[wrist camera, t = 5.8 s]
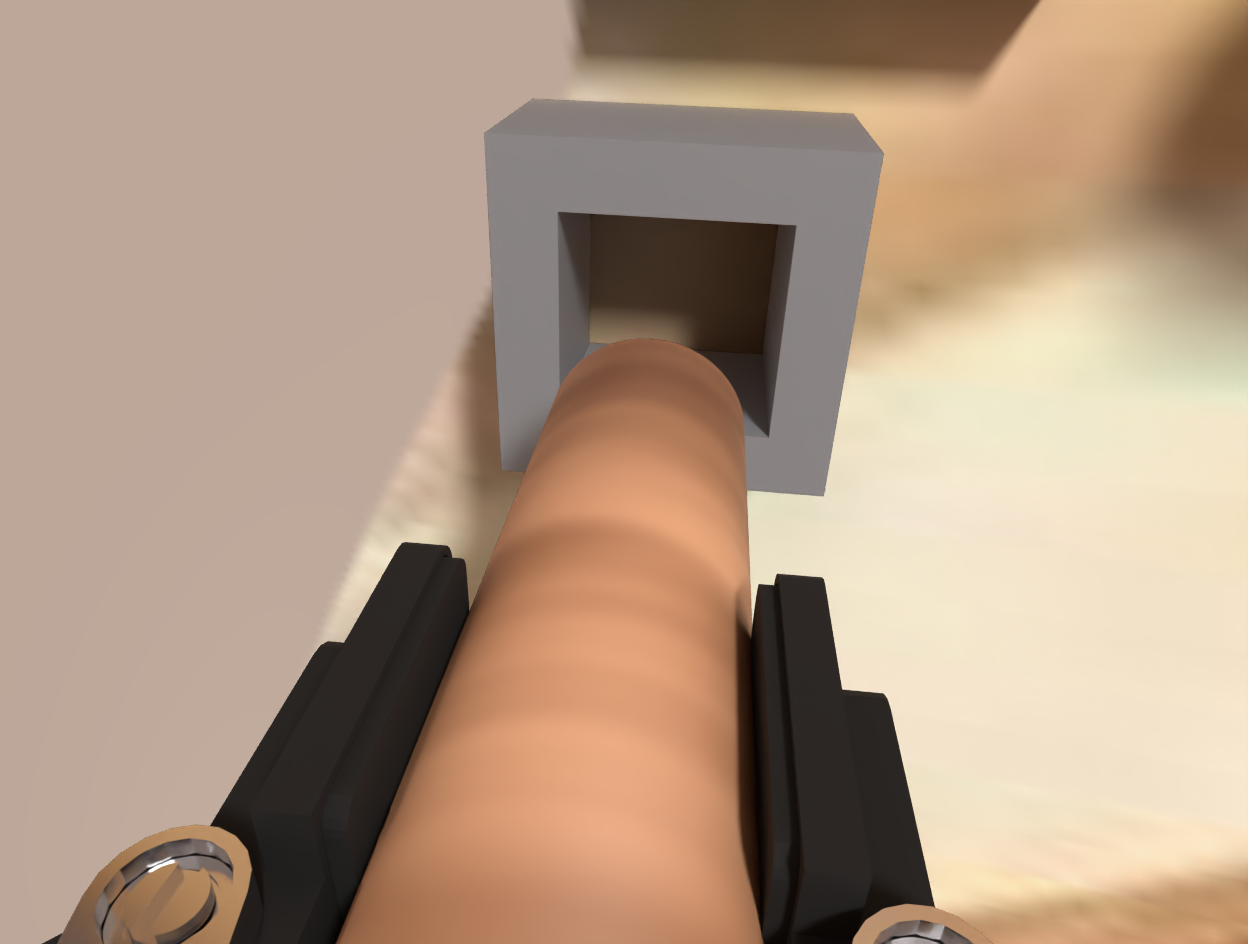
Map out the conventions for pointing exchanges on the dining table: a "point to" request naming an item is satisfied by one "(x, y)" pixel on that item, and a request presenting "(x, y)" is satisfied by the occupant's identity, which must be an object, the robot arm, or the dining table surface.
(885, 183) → the dining table surface
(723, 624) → the dowel
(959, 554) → the dining table surface
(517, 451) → the socket block
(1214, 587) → the dining table surface
